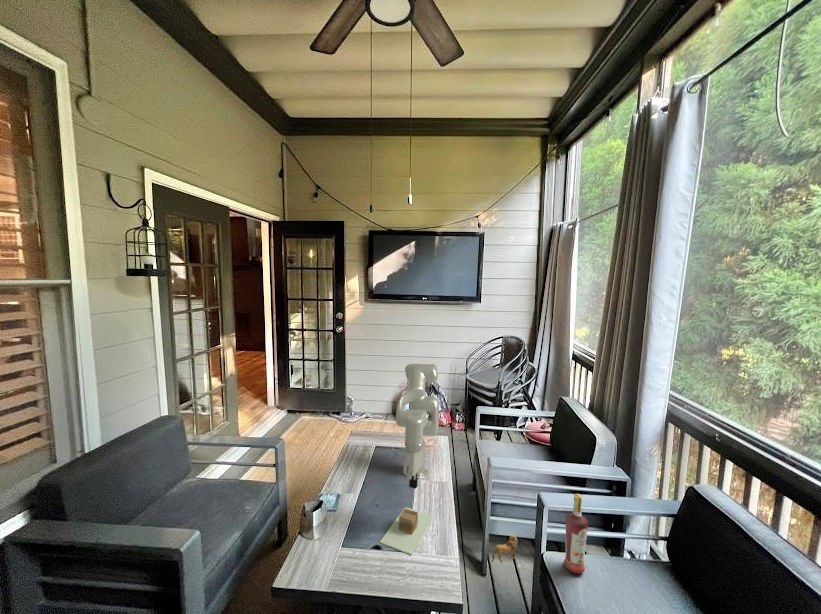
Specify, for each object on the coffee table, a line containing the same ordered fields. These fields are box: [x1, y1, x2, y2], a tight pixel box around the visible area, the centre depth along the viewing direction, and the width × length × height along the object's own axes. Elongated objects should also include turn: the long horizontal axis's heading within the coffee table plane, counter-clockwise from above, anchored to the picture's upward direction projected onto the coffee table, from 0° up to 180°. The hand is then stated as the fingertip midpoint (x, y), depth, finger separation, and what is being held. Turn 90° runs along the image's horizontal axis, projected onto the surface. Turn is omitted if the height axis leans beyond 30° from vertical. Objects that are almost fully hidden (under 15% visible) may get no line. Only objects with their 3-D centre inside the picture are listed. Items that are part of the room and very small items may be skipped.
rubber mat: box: [379, 506, 434, 556], centre depth 142 cm, size 23×14×1 cm, turn 155°
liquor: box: [563, 493, 589, 575], centre depth 123 cm, size 7×7×28 cm
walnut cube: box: [398, 507, 418, 535], centre depth 142 cm, size 6×6×6 cm
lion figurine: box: [491, 534, 518, 563], centre depth 128 cm, size 12×4×7 cm, turn 117°
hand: (413, 486), depth 145 cm, fingers closed
